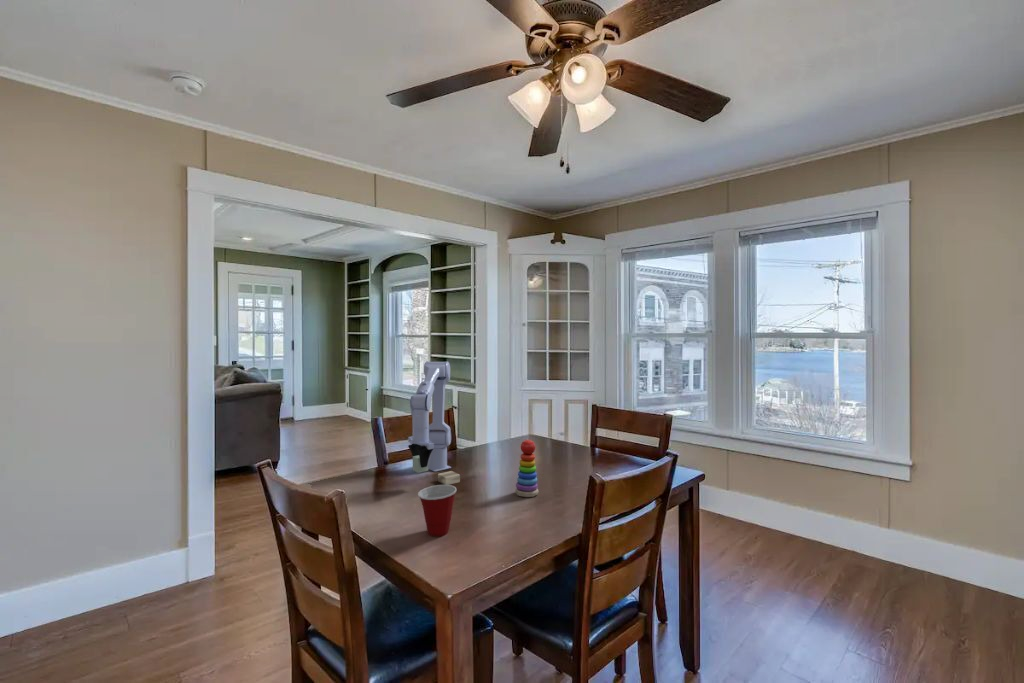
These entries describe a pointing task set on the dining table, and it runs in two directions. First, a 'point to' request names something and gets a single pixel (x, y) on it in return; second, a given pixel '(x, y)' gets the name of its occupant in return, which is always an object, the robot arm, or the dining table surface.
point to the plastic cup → (437, 508)
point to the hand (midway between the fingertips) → (420, 465)
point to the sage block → (418, 465)
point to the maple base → (448, 477)
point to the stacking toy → (527, 471)
